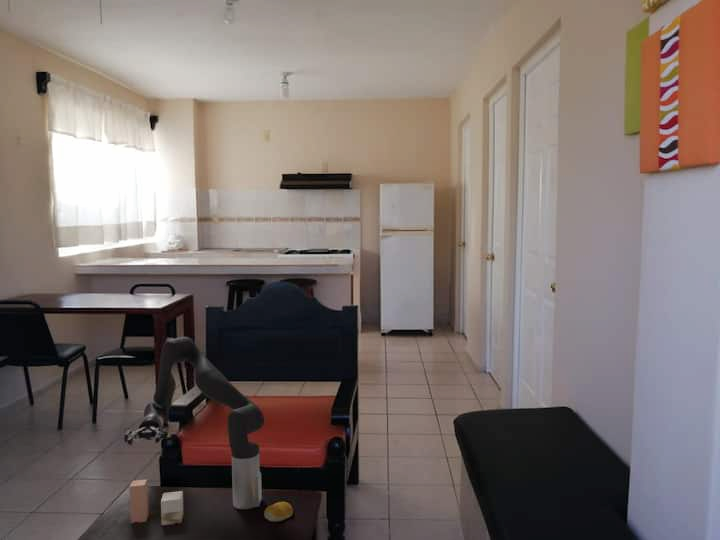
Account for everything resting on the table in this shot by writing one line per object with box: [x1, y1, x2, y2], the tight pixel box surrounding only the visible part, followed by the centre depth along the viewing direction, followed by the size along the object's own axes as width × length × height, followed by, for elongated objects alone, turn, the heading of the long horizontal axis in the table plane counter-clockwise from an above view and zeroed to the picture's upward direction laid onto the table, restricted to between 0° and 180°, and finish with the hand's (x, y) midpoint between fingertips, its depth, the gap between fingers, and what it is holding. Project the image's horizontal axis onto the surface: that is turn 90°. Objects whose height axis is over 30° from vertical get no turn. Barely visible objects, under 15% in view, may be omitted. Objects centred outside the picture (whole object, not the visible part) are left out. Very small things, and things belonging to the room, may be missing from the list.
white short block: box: [160, 490, 184, 514], centre depth 182 cm, size 6×6×4 cm
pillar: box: [129, 479, 149, 524], centre depth 183 cm, size 4×4×12 cm
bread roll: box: [263, 501, 294, 522], centre depth 184 cm, size 8×9×4 cm
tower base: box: [160, 505, 184, 526], centre depth 182 cm, size 6×6×4 cm
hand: (143, 441), depth 193 cm, fingers open, 8 cm apart
